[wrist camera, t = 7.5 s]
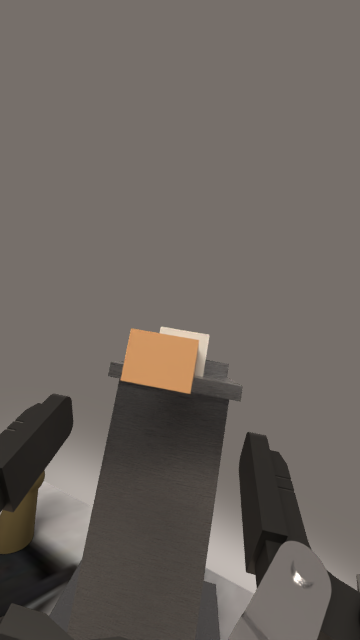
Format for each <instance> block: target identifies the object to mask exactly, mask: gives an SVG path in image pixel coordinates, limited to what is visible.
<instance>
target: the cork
mask: <svg viewBox="0 0 360 640" xmlns="http://www.w3.org/2000/svg"><path fill="white" fill-rule="evenodd" d="M44 477H45V471H43V472H42V474H41V475H40V476H39V478H38V479H37V481H36V482H35V483H34V485H33V486H32V488H31V489H30V490H29V492H28V493H27V494H26V496H25V497H24V499H23V500H22V501H21V503H20V504H19V506H18V507H17V508H16V510H15V511H14V512H13V513H12V512H9V511H5V510H2V513H1V515H0V554H9V553H13V552H16V551H19V550H21V549H23V548H24V547H26V546H27V545H28V544H29V543H30V542H31V540H32V538H33V534H34V524H35V515H36V505H37V496H38V488H39V487H40V486H41V485H42V483H43V481H44Z"/></svg>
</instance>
